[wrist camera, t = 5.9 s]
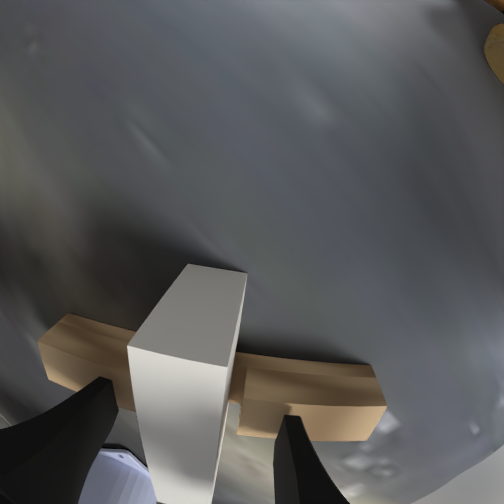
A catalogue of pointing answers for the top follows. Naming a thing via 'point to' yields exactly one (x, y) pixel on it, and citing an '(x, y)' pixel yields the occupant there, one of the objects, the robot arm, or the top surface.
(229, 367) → the white flat block
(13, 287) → the top surface
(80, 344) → the wooden bar
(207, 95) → the top surface
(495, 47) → the kendama
